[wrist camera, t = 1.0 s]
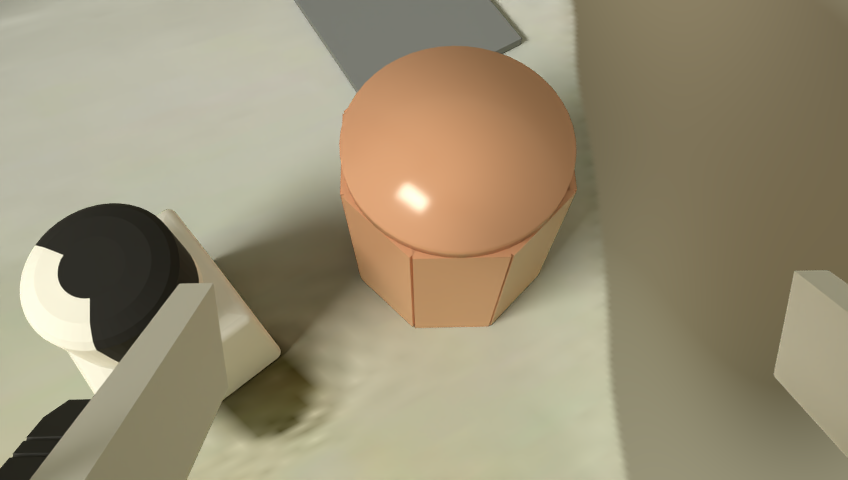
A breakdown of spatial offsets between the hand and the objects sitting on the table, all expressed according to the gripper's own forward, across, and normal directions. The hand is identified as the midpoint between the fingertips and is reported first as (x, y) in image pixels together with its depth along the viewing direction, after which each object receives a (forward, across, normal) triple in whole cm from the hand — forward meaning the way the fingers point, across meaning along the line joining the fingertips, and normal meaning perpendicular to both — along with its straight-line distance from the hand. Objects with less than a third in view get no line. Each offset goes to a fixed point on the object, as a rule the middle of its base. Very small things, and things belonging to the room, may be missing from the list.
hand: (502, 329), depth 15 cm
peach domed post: (+22, 0, -7) cm, 23 cm away
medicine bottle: (+18, -14, -11) cm, 26 cm away
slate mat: (+34, -2, +5) cm, 34 cm away
